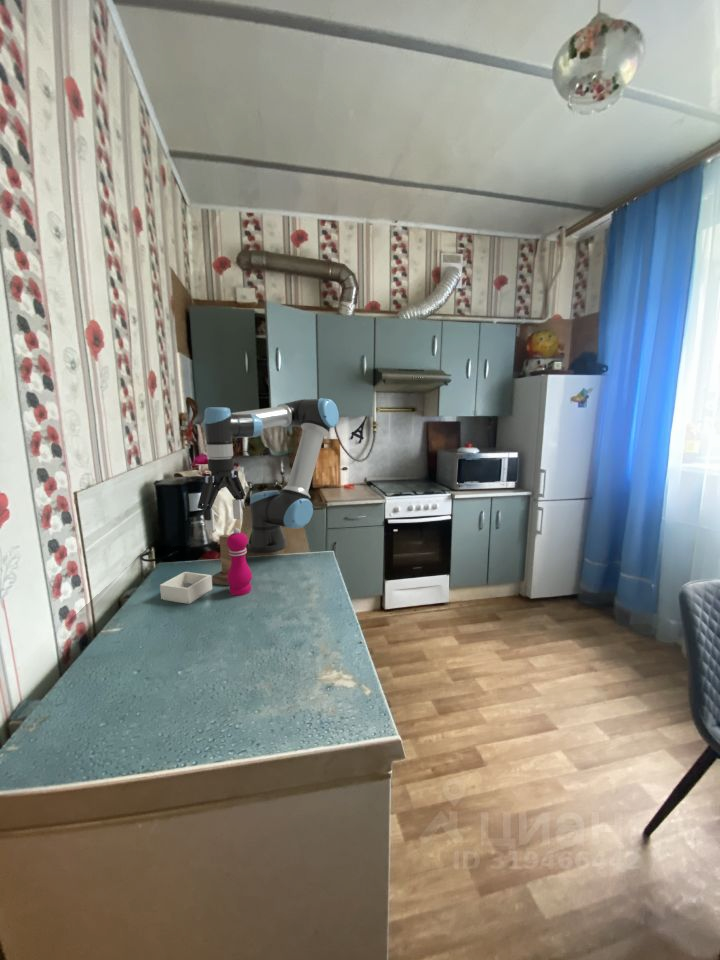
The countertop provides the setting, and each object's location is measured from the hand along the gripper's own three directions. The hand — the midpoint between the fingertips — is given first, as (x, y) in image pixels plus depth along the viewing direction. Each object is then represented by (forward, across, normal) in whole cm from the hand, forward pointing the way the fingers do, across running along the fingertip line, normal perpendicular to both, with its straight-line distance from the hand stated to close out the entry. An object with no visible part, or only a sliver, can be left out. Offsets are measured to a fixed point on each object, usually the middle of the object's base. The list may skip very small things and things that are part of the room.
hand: (224, 524), depth 119 cm
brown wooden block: (+19, 0, 0) cm, 19 cm away
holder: (+19, 0, 0) cm, 19 cm away
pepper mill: (+19, +6, +8) cm, 22 cm away
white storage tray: (+19, +12, -6) cm, 23 cm away
